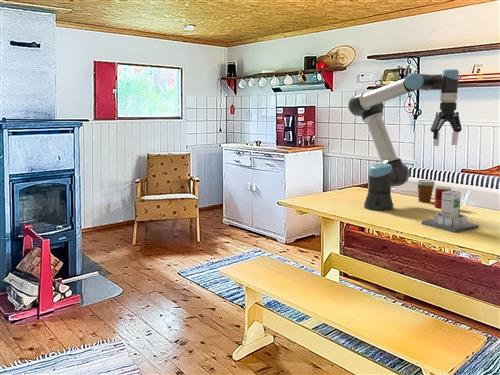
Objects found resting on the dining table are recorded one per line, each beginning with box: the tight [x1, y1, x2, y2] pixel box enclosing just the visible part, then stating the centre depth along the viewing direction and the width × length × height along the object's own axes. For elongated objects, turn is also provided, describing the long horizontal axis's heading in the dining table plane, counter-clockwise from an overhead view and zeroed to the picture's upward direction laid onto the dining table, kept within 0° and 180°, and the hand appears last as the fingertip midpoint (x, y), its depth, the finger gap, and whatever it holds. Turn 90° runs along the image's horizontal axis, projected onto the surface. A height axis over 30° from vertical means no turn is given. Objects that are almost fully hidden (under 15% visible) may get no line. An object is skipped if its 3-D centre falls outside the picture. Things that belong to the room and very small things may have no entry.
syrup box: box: [440, 190, 462, 218], centre depth 215 cm, size 6×6×14 cm
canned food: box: [434, 186, 452, 210], centre depth 256 cm, size 8×8×11 cm
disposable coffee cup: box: [416, 179, 435, 204], centre depth 272 cm, size 10×10×12 cm
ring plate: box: [421, 211, 480, 233], centre depth 216 cm, size 18×16×5 cm
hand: (445, 145), depth 237 cm, fingers open, 13 cm apart
